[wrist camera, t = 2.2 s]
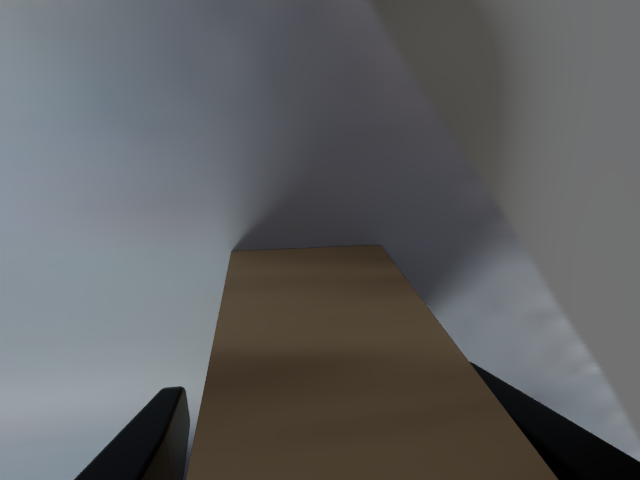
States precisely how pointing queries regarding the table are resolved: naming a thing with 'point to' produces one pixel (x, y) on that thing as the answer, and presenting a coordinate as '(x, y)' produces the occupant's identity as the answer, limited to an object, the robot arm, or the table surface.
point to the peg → (344, 380)
